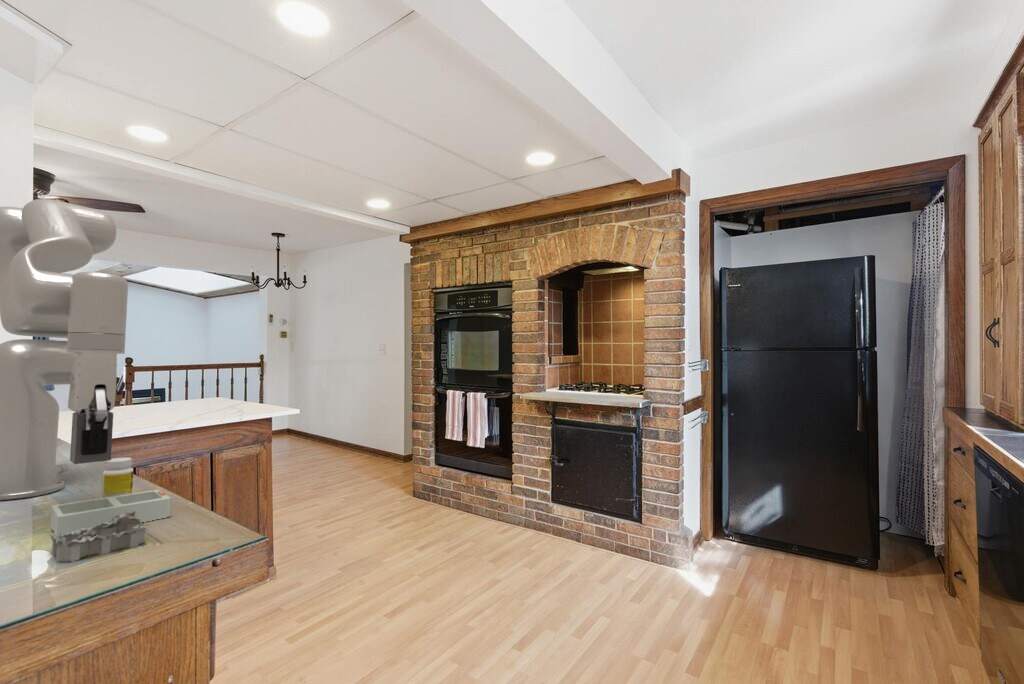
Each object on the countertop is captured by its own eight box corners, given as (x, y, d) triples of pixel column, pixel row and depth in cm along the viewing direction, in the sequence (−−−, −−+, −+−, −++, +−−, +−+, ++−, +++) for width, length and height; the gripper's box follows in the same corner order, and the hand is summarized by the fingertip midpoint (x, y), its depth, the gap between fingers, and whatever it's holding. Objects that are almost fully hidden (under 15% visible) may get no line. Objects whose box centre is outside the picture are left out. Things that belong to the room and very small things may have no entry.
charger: (74, 464, 78) (77, 413, 78) (69, 460, 81) (72, 411, 81) (110, 460, 81) (113, 411, 82) (105, 456, 84) (107, 409, 85)
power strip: (56, 539, 75) (58, 515, 75) (49, 526, 80) (51, 503, 81) (169, 517, 87) (171, 496, 87) (157, 507, 92) (158, 487, 92)
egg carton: (137, 534, 79) (139, 509, 79) (148, 547, 74) (150, 520, 74) (48, 552, 71) (50, 524, 71) (54, 567, 66) (56, 537, 66)
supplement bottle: (135, 501, 95) (138, 459, 95) (105, 507, 91) (108, 463, 91) (126, 497, 98) (128, 456, 98) (96, 502, 94) (99, 459, 94)
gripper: (59, 344, 85) (53, 448, 84) (75, 342, 74) (68, 462, 73) (114, 346, 90) (108, 443, 89) (136, 344, 79) (130, 455, 78)
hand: (91, 450), depth 81 cm, fingers closed on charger, 4 cm apart
